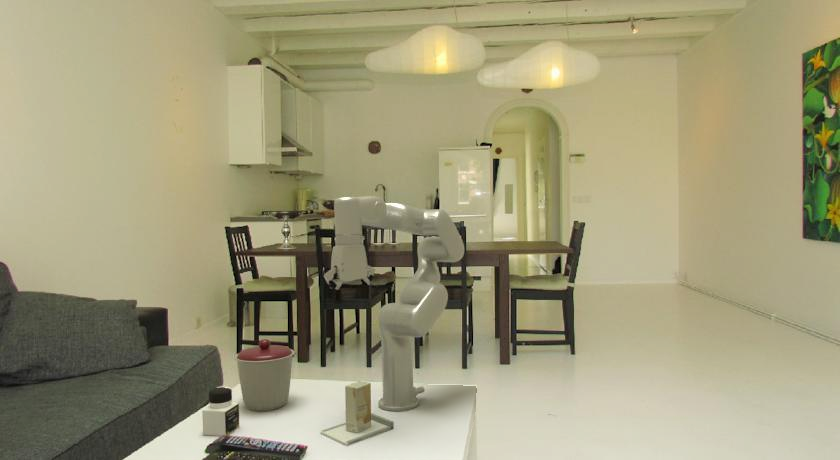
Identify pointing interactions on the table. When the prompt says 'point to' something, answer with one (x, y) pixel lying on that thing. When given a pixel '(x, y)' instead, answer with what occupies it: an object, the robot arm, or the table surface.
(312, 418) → the table surface
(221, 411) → the medicine bottle
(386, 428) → the mat
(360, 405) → the skincare box
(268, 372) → the canister
